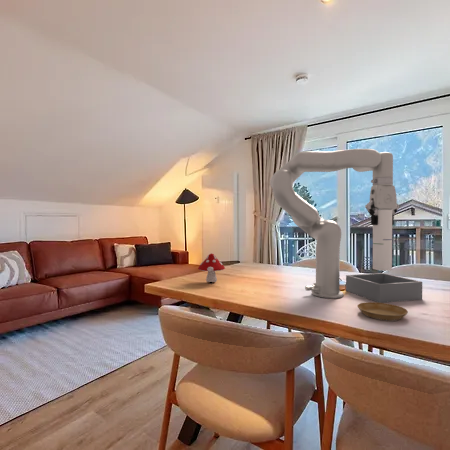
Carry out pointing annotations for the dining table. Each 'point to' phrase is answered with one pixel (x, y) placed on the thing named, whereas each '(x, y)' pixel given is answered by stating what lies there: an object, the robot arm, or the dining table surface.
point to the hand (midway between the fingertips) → (382, 224)
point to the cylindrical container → (382, 241)
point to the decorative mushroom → (211, 267)
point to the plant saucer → (382, 311)
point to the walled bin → (384, 287)
